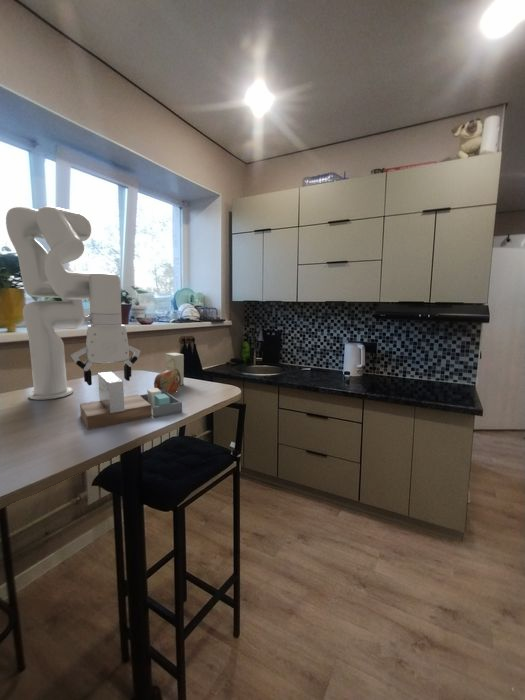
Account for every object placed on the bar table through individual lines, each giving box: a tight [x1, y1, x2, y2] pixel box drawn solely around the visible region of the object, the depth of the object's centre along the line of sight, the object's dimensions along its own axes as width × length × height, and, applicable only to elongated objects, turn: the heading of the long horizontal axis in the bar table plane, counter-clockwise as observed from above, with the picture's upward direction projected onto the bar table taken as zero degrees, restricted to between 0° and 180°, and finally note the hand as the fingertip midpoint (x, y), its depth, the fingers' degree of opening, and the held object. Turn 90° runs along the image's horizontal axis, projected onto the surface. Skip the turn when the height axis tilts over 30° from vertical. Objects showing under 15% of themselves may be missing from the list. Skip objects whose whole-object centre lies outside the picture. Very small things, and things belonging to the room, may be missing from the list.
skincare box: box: [165, 352, 185, 386], centre depth 126 cm, size 6×4×12 cm
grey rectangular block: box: [97, 371, 125, 413], centre depth 90 cm, size 4×14×8 cm, turn 37°
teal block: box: [154, 394, 170, 407], centre depth 95 cm, size 4×4×3 cm
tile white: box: [146, 387, 161, 407], centre depth 101 cm, size 4×4×3 cm
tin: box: [153, 369, 181, 396], centre depth 113 cm, size 15×3×8 cm, turn 168°
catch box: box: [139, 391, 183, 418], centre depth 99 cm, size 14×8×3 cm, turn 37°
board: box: [79, 394, 153, 431], centre depth 91 cm, size 12×16×4 cm
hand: (108, 381), depth 90 cm, fingers open, 9 cm apart
